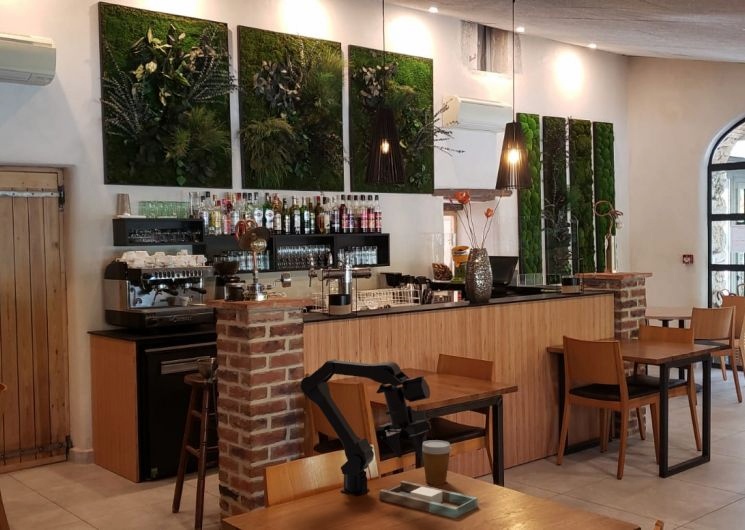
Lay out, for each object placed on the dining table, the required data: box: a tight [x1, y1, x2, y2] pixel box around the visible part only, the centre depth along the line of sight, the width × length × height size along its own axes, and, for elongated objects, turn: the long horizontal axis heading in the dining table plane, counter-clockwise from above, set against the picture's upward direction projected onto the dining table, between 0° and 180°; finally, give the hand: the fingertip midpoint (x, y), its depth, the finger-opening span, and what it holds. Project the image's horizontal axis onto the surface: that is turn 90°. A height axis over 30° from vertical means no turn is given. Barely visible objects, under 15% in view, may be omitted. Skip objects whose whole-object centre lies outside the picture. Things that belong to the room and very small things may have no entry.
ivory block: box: [411, 487, 443, 504], centre depth 236 cm, size 7×6×4 cm
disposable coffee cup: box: [422, 439, 452, 485], centre depth 255 cm, size 10×10×12 cm
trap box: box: [379, 480, 479, 519], centre depth 236 cm, size 26×12×2 cm, turn 52°
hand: (410, 457), depth 239 cm, fingers open, 9 cm apart
